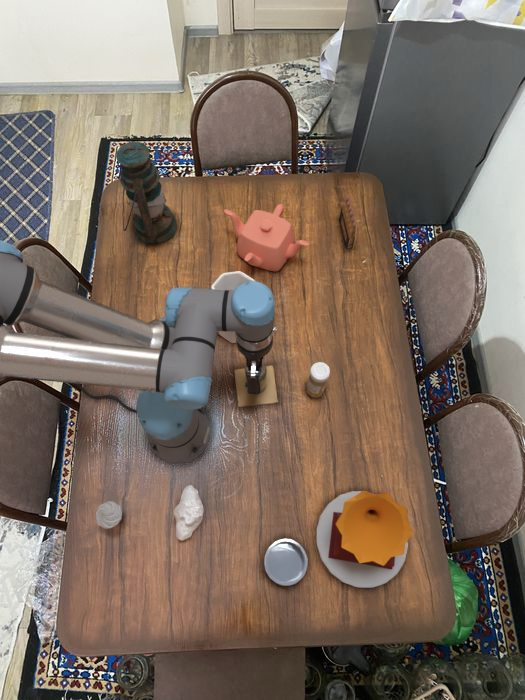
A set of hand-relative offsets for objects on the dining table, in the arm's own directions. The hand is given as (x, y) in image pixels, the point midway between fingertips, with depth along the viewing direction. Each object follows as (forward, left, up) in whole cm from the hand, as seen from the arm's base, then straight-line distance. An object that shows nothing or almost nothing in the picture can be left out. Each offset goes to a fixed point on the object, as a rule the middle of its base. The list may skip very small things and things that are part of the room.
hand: (255, 374), depth 124 cm
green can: (0, 0, -8) cm, 8 cm away
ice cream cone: (-29, -34, -9) cm, 46 cm away
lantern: (-33, +47, -9) cm, 58 cm away
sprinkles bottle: (+15, 0, -9) cm, 17 cm away
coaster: (0, 0, -9) cm, 9 cm away
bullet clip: (+23, +48, -9) cm, 54 cm away
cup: (-6, +17, -9) cm, 20 cm away
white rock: (-13, -32, -9) cm, 36 cm away
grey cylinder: (+9, -41, -9) cm, 43 cm away
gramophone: (+26, -35, -9) cm, 44 cm away
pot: (0, +40, -9) cm, 41 cm away
